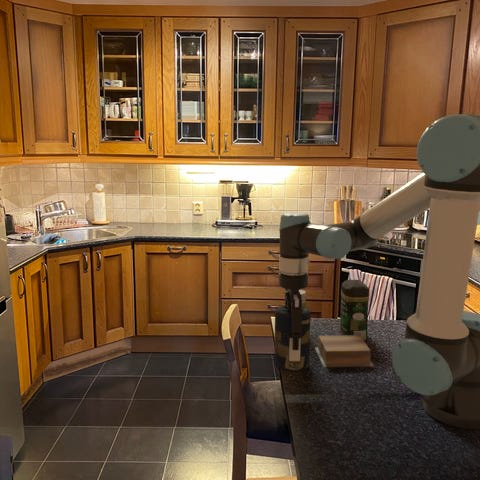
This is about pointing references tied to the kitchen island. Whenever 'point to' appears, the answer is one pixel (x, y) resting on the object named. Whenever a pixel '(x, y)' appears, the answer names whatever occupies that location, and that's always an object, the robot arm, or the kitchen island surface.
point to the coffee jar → (354, 308)
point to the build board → (339, 365)
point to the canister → (283, 341)
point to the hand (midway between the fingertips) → (292, 352)
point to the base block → (344, 350)
